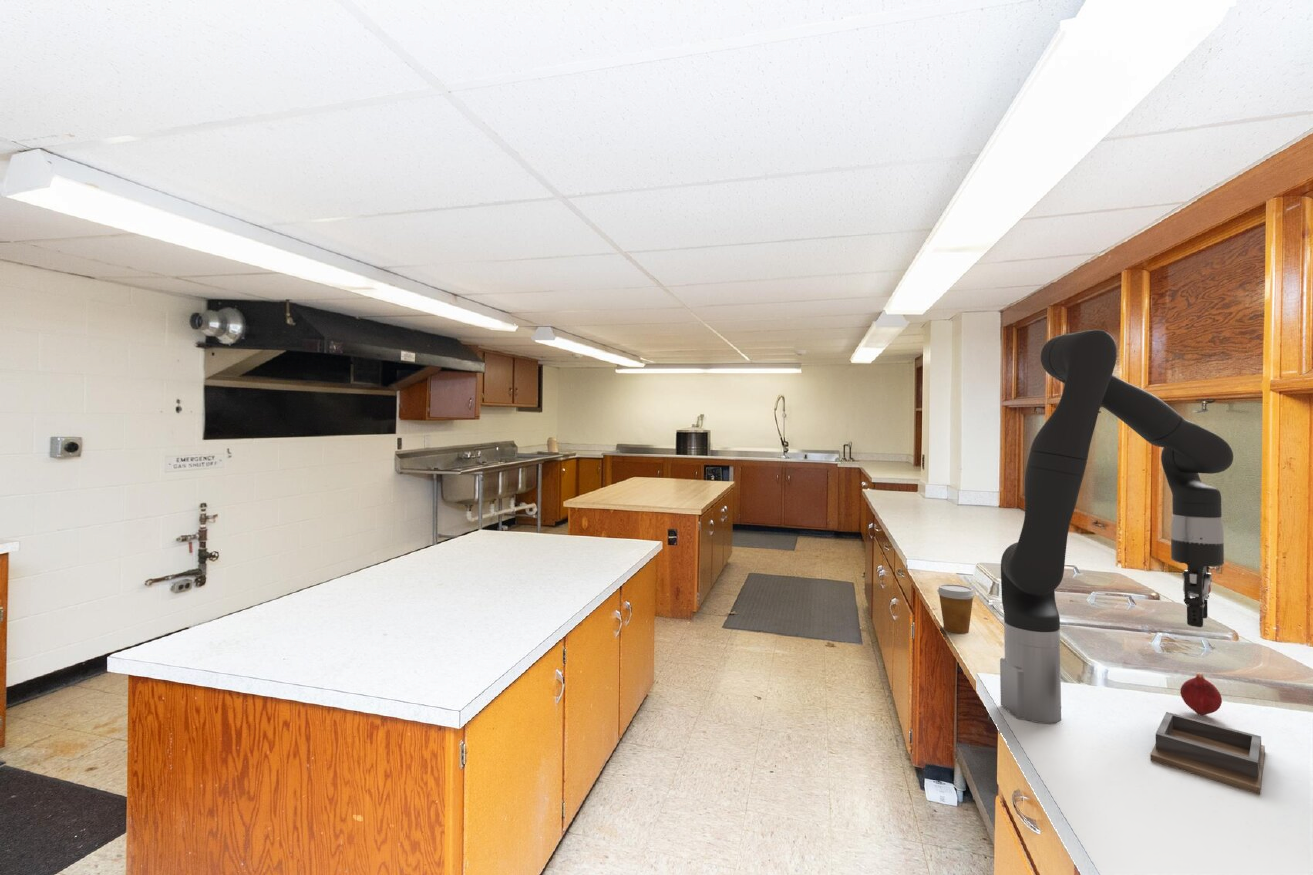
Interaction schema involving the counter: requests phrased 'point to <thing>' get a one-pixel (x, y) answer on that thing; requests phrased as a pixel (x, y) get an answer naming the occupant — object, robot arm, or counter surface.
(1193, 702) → the onion
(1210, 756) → the pocket board
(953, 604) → the disposable coffee cup
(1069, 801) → the counter surface
